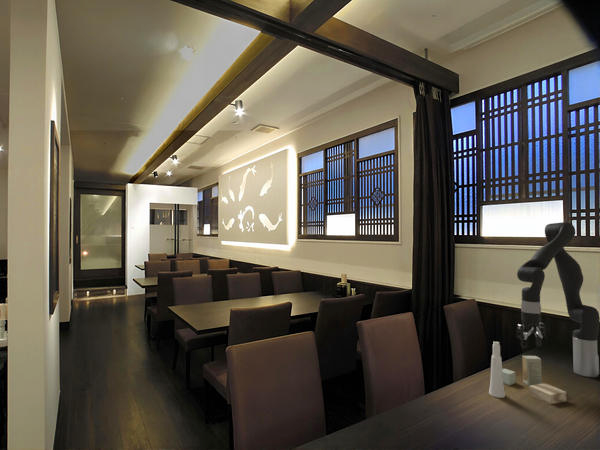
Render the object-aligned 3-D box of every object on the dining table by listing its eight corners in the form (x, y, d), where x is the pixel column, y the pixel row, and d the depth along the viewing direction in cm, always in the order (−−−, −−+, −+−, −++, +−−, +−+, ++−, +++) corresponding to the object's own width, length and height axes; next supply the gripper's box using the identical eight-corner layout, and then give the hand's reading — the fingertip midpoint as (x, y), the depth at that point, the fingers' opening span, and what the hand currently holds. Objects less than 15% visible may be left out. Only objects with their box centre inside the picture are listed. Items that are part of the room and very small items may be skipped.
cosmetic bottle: (488, 396, 147) (488, 343, 148) (488, 390, 153) (488, 339, 153) (505, 399, 144) (504, 345, 145) (504, 393, 150) (504, 341, 150)
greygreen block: (504, 379, 165) (504, 368, 165) (515, 383, 160) (515, 372, 161) (498, 381, 162) (498, 370, 162) (509, 385, 158) (509, 374, 158)
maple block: (545, 392, 151) (544, 383, 152) (566, 401, 143) (566, 391, 143) (529, 395, 149) (529, 385, 149) (550, 405, 140) (549, 394, 140)
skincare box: (536, 382, 161) (536, 355, 161) (542, 386, 157) (542, 358, 157) (522, 381, 162) (521, 355, 162) (527, 385, 157) (526, 358, 158)
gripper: (535, 308, 166) (535, 343, 165) (511, 310, 162) (511, 345, 161) (550, 311, 158) (551, 348, 158) (526, 313, 154) (526, 350, 154)
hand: (531, 346), depth 160 cm, fingers open, 8 cm apart
